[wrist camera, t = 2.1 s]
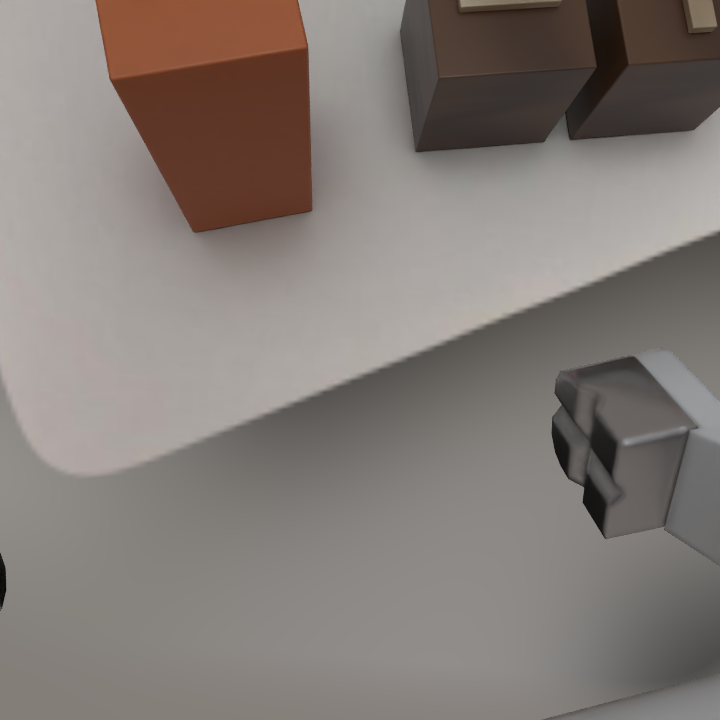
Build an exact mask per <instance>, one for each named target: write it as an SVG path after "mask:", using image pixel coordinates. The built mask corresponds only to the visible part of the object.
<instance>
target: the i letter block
mask: <svg viewBox="0 0 720 720" xmlns="http://www.w3.org/2000/svg"><path fill="white" fill-rule="evenodd" d="M96 6H97V11H98V17H99V22H100V28H101V33H102V39H103V45H104V50H105V56H106V61H107V67H108V72H109V78H110V81H111V82H112V84H113V86H114V88H115V90H116V91H117V93H118V95H119V97H120V99H121V101H122V102H123V104H124V106H125V108H126V110H127V112H128V113H129V115H130V117H131V119H132V121H133V123H134V124H135V126H136V128H137V130H138V132H139V133H140V135H141V137H142V139H143V141H144V143H145V144H146V146H147V148H148V150H149V152H150V154H151V155H152V157H153V159H154V161H155V163H156V165H157V166H158V168H159V170H160V172H161V174H162V175H163V177H164V179H165V181H166V183H167V185H168V186H169V188H170V190H171V192H172V194H173V196H174V197H175V199H176V201H177V203H178V205H179V207H180V208H181V210H182V212H183V214H184V216H185V217H186V219H187V221H188V223H189V225H190V227H191V228H192V230H193V232H199V231H205V230H210V229H215V228H221V227H226V226H231V225H237V224H242V223H247V222H253V221H258V220H263V219H269V218H274V217H280V216H285V215H290V214H296V213H301V212H306V211H311V210H312V178H311V138H310V98H309V58H308V43H307V39H306V34H305V30H304V26H303V21H302V17H301V12H300V8H299V3H298V0H96Z"/></svg>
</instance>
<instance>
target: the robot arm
mask: <svg viewBox="0 0 720 720" xmlns="http://www.w3.org/2000/svg"><path fill="white" fill-rule="evenodd" d="M555 394H556V396H557V397H558V399H559V401H560V402H561V404H562V406H561V407H560V408H559V409H558V410H557V412H556V413H555V414H554V416H553V417H552V438H553V443H554V449H555V453H556V455H557V458H558V460H559V463H560V465H561V467H562V469H563V471H564V472H565V474H566V476H567V477H568V479H570V480H571V481H573V482H575V483H577V484H579V485H581V486H583V487H584V495H583V504H584V505H585V507H586V509H587V510H588V512H589V513H590V515H591V517H592V518H593V520H594V521H595V523H596V525H597V527H598V528H599V530H600V531H601V533H602V535H603V536H604V538H605V539H608V538H612V537H617V536H622V535H627V534H632V533H637V532H641V531H646V530H650V529H655V528H660V527H665V528H664V530H665V531H667V532H668V533H670V534H672V535H673V536H675V537H676V538H678V539H679V540H681V541H682V542H684V543H685V544H687V545H688V546H690V547H691V548H693V549H694V550H696V551H698V552H699V553H701V554H702V555H704V556H705V557H707V558H708V559H710V560H711V561H713V562H714V563H716V564H718V565H719V566H720V400H719V399H718V398H717V397H716V396H715V395H714V394H713V393H712V392H711V391H710V390H709V389H708V388H707V387H706V386H705V385H704V384H703V383H702V382H701V381H700V380H699V379H698V378H697V377H696V376H695V375H694V374H693V373H692V372H691V371H690V370H689V369H688V368H687V367H686V366H685V365H684V364H683V363H682V362H681V361H680V360H679V359H678V358H677V357H676V356H675V355H674V354H673V353H672V352H671V351H670V350H667V349H665V348H662V347H661V348H657V349H653V350H648V351H644V352H639V353H635V354H631V355H628V356H627V357H620V358H615V359H611V360H607V361H602V362H597V363H593V364H588V365H584V366H580V367H575V368H570V369H566V370H562V371H560V372H559V374H558V376H557V379H556V384H555ZM5 593H6V571H5V565H4V562H3V559H2V556H1V554H0V610H1V609H2V606H3V602H4V597H5ZM543 720H720V673H719V674H715V675H711V676H707V677H703V678H699V679H696V680H692V681H688V682H684V683H681V684H677V685H673V686H669V687H666V688H661V689H657V690H654V691H650V692H646V693H642V694H638V695H635V696H631V697H627V698H623V699H619V700H615V701H612V702H608V703H604V704H600V705H597V706H592V707H589V708H585V709H581V710H577V711H574V712H570V713H566V714H562V715H558V716H554V717H550V718H547V719H543Z"/></svg>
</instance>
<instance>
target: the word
mask: <svg viewBox="0 0 720 720" xmlns="http://www.w3.org/2000/svg"><path fill="white" fill-rule="evenodd" d="M400 34H401V42H402V50H403V57H404V65H405V73H406V80H407V88H408V96H409V104H410V111H411V119H412V127H413V134H414V142H415V150H416V151H417V152H418V151H431V150H443V149H456V148H469V147H481V146H494V145H507V144H519V143H532V142H544V141H545V140H546V138H547V137H548V135H549V134H550V133H551V131H552V130H553V128H554V127H555V126H556V124H557V123H558V121H559V120H560V118H561V117H562V116H563V114H564V113H565V111H566V115H567V121H568V128H569V134H570V139H581V138H594V137H607V136H619V135H632V134H645V133H657V132H670V131H683V130H694V129H695V128H696V127H698V126H699V125H700V124H701V123H702V122H703V121H704V120H706V119H707V118H708V117H709V116H710V115H711V114H712V113H713V112H715V111H716V110H717V109H718V108H719V107H720V0H406V2H405V8H404V13H403V18H402V24H401V29H400Z"/></svg>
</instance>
